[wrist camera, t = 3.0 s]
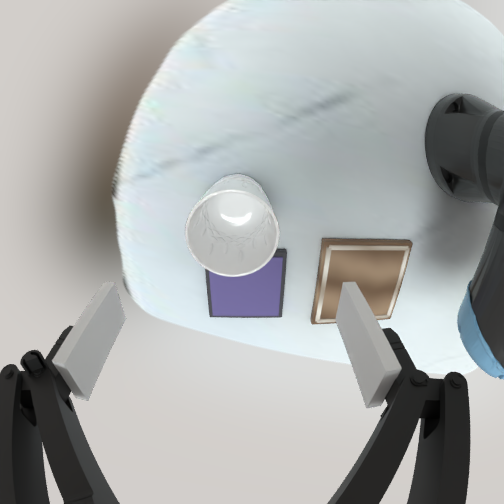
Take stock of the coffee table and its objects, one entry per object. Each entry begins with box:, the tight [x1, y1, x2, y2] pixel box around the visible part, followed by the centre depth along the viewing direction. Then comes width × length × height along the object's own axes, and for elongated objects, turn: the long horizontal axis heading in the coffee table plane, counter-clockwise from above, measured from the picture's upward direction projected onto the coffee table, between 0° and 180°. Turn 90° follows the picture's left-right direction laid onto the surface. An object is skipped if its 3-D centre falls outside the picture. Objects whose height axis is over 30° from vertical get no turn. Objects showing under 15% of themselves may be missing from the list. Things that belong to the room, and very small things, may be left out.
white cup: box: [185, 174, 280, 277], centre depth 28 cm, size 8×8×10 cm
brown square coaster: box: [311, 239, 412, 324], centre depth 37 cm, size 13×13×1 cm
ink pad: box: [205, 249, 287, 318], centre depth 37 cm, size 10×10×1 cm
